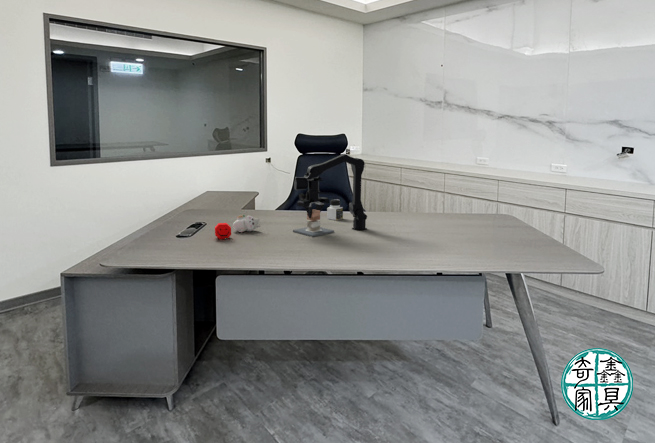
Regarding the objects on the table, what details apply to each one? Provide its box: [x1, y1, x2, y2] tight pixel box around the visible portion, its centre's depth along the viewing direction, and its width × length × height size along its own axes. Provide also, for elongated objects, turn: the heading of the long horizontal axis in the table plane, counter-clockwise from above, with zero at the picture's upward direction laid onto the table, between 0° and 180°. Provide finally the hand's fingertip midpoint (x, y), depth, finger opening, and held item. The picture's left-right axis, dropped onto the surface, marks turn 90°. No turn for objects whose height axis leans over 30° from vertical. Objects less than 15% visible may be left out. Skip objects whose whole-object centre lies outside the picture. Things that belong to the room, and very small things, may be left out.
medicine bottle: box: [326, 198, 344, 221], centre depth 306 cm, size 7×7×12 cm
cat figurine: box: [232, 214, 261, 233], centre depth 272 cm, size 10×8×15 cm
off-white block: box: [306, 220, 321, 231], centre depth 271 cm, size 5×5×5 cm
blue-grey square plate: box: [292, 226, 335, 238], centre depth 271 cm, size 16×16×1 cm
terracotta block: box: [306, 208, 321, 221], centre depth 269 cm, size 5×5×5 cm
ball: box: [214, 222, 232, 240], centre depth 256 cm, size 8×8×8 cm
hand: (313, 217), depth 270 cm, fingers closed on terracotta block, 5 cm apart
